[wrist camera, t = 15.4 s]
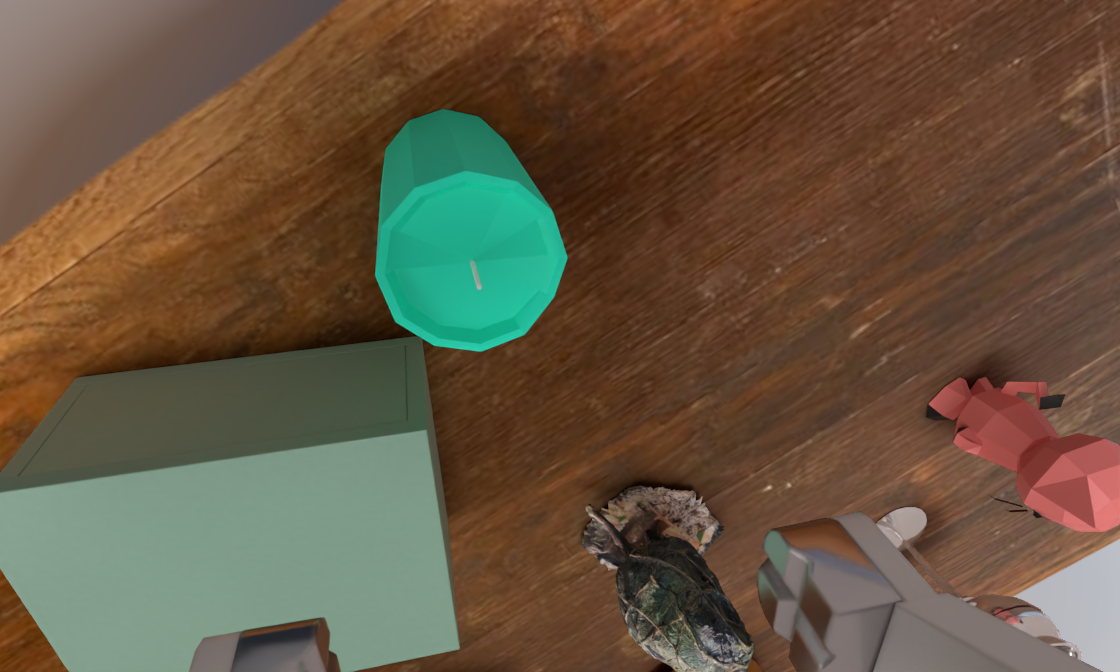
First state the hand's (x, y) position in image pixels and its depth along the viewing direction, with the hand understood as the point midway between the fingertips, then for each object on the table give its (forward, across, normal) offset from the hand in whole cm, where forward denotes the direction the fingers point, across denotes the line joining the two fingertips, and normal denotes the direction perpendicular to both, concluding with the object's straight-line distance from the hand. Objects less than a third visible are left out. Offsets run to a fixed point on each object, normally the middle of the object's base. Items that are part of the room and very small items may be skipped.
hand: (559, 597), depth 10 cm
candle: (+23, 0, 0) cm, 23 cm away
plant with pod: (+23, -10, +23) cm, 34 cm away
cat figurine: (+23, -32, +17) cm, 43 cm away
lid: (+15, +10, +14) cm, 23 cm away
